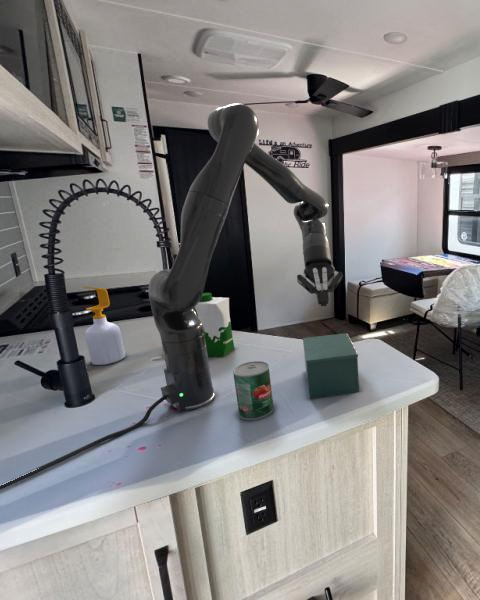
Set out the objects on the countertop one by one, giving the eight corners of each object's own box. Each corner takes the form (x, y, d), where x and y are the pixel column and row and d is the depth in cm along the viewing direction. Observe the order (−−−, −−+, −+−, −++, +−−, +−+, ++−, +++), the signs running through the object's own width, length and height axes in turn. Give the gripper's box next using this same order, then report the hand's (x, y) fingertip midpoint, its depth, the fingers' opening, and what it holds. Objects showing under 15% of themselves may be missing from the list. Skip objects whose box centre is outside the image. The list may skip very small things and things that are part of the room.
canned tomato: (272, 417, 88) (267, 373, 85) (236, 422, 86) (229, 377, 83) (274, 400, 95) (270, 359, 92) (241, 404, 94) (235, 363, 91)
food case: (359, 391, 98) (357, 356, 96) (309, 398, 95) (306, 362, 93) (349, 367, 113) (347, 335, 110) (306, 372, 110) (303, 340, 108)
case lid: (358, 357, 95) (357, 354, 95) (306, 363, 92) (306, 360, 92) (347, 335, 110) (347, 332, 110) (303, 340, 108) (302, 338, 107)
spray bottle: (84, 364, 121) (65, 288, 115) (112, 353, 129) (95, 282, 123) (105, 367, 118) (87, 289, 112) (132, 355, 127) (116, 283, 121)
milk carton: (214, 347, 132) (206, 290, 127) (239, 347, 131) (231, 291, 126) (199, 357, 124) (189, 297, 119) (224, 358, 122) (215, 297, 117)
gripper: (292, 245, 104) (297, 299, 96) (340, 243, 108) (349, 295, 99) (293, 262, 111) (298, 314, 102) (339, 259, 114) (347, 309, 105)
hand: (323, 304), depth 101 cm, fingers closed
